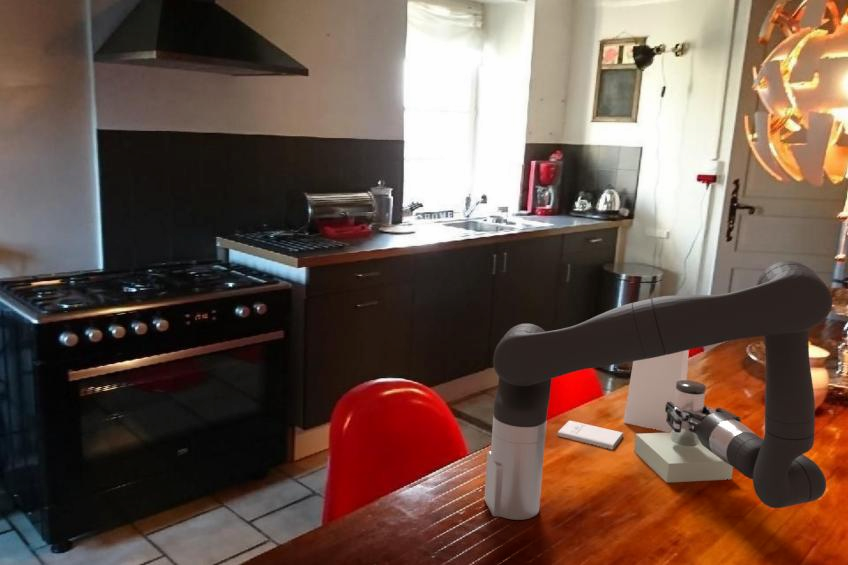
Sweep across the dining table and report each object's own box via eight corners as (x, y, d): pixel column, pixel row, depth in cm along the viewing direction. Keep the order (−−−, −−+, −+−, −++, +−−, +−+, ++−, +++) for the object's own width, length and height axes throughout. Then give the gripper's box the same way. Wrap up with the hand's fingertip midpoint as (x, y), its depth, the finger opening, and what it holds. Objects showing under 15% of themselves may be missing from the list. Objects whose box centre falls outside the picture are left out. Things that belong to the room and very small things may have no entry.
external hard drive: (612, 452, 153) (557, 437, 159) (622, 438, 160) (569, 425, 166) (613, 444, 153) (557, 430, 159) (623, 431, 159) (569, 419, 166)
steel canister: (679, 446, 143) (685, 390, 140) (665, 435, 148) (671, 380, 146) (704, 445, 144) (711, 389, 141) (689, 434, 149) (696, 379, 147)
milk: (683, 417, 173) (696, 313, 167) (676, 434, 163) (689, 324, 157) (633, 407, 178) (644, 306, 173) (623, 422, 168) (634, 316, 163)
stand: (666, 482, 139) (668, 463, 138) (633, 451, 153) (635, 433, 152) (731, 479, 142) (734, 460, 141) (693, 448, 155) (695, 431, 154)
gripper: (767, 419, 131) (715, 387, 148) (695, 421, 129) (650, 389, 145) (761, 457, 133) (710, 421, 149) (691, 460, 130) (647, 424, 146)
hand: (681, 405), depth 147 cm, fingers closed on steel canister, 5 cm apart
